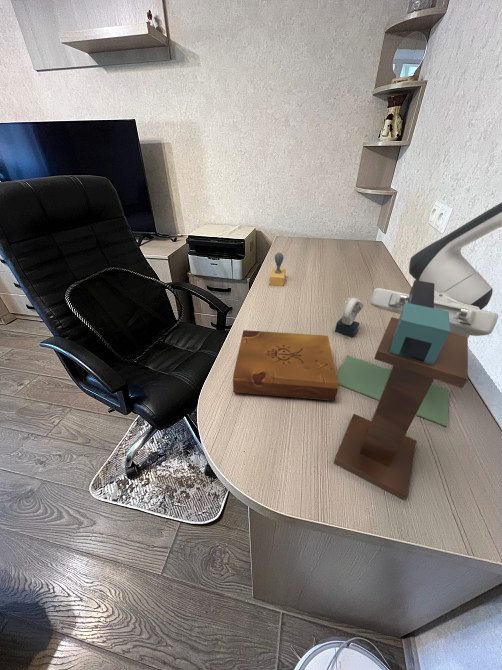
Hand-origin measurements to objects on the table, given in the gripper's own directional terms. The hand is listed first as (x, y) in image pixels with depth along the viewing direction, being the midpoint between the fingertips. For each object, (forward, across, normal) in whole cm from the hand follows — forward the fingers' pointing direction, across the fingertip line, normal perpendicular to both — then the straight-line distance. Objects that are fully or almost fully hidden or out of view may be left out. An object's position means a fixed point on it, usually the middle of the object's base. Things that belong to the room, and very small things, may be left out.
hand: (431, 306), depth 46 cm
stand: (-2, 0, +29) cm, 29 cm away
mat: (-19, -1, +19) cm, 27 cm away
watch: (-35, -17, +10) cm, 40 cm away
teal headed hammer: (+7, -2, +4) cm, 8 cm away
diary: (-11, -25, +23) cm, 36 cm away
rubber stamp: (-54, -53, -2) cm, 76 cm away
